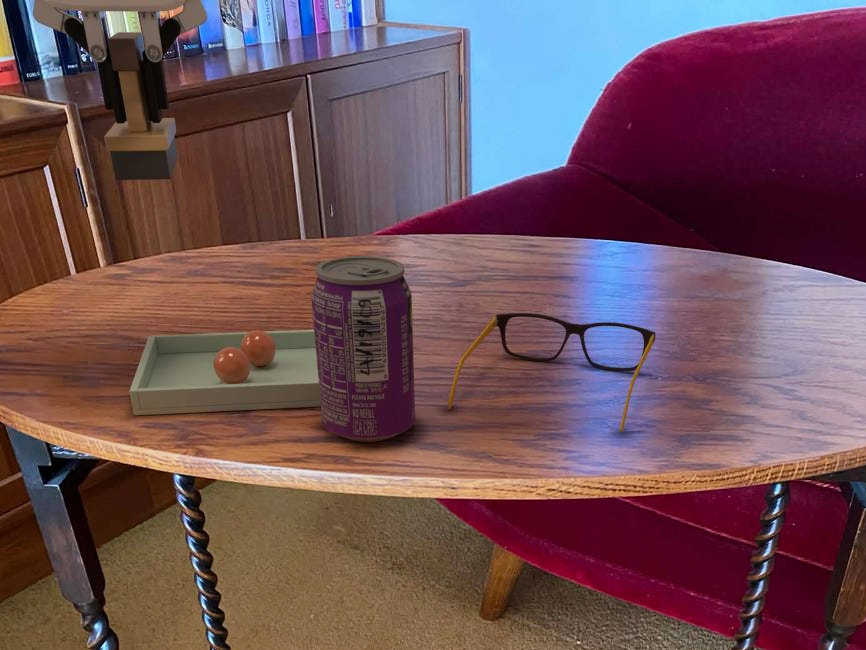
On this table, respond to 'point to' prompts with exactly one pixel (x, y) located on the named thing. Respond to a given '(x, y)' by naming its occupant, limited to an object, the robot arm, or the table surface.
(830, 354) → the table surface
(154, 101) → the robot arm
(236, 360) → the bead
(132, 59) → the brush
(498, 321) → the eyeglasses
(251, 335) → the bead
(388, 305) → the beverage can
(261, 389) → the tray
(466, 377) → the table surface
